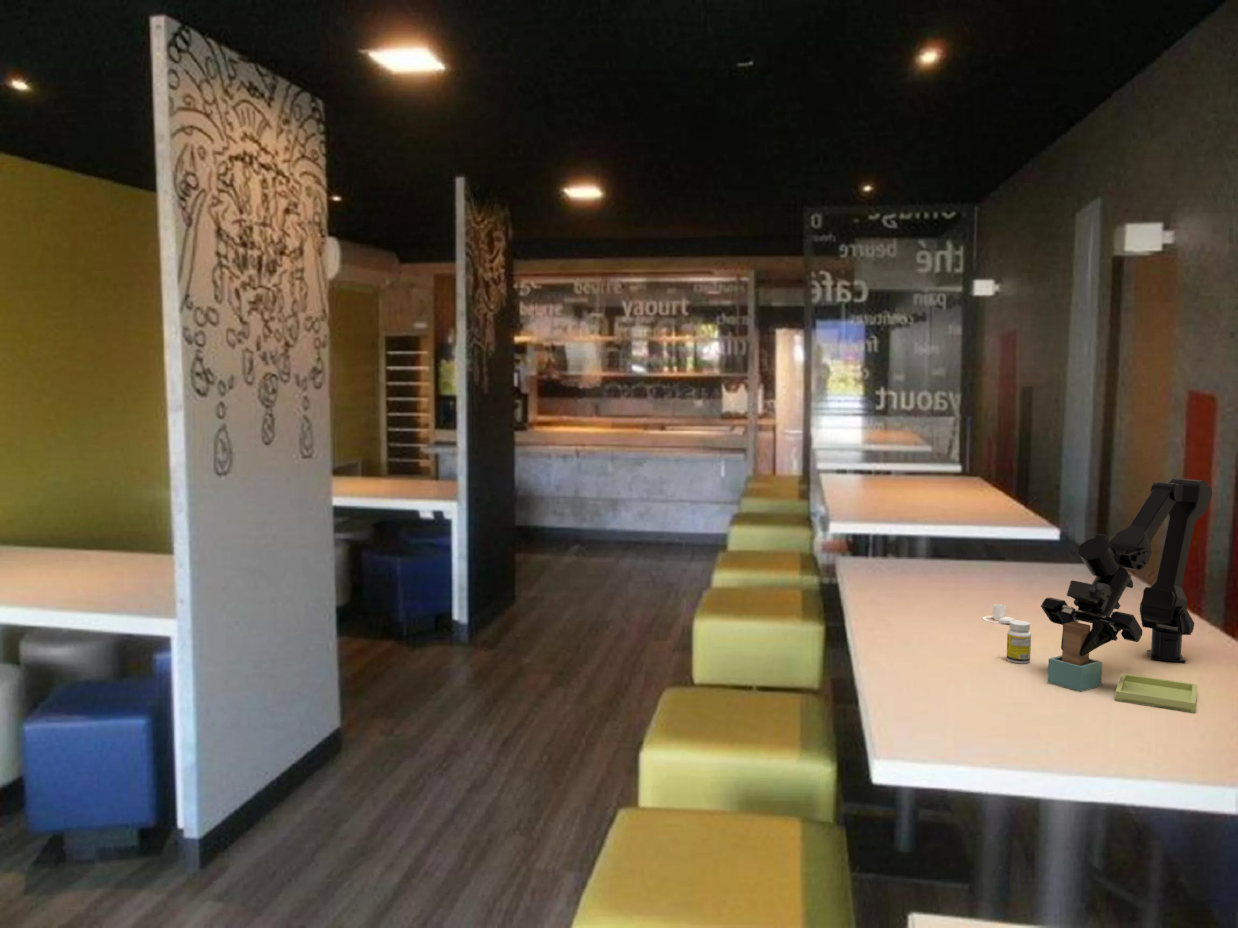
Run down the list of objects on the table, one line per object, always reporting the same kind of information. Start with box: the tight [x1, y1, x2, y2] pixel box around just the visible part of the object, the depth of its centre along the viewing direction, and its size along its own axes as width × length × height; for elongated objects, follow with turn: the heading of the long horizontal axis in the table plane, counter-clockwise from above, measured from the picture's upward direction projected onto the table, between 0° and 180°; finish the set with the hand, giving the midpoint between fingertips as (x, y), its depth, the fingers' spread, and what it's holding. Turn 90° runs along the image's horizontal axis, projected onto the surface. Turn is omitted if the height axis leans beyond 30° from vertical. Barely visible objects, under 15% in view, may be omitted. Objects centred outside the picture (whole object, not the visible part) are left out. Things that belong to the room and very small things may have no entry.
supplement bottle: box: [1006, 619, 1032, 665], centre depth 208 cm, size 5×5×8 cm
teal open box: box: [1047, 654, 1103, 692], centre depth 192 cm, size 7×7×5 cm
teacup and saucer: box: [982, 603, 1016, 625], centre depth 243 cm, size 9×8×4 cm
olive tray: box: [1114, 673, 1198, 714], centre depth 185 cm, size 13×13×2 cm
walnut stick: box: [1061, 622, 1092, 666], centre depth 192 cm, size 4×4×12 cm
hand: (1071, 652), depth 191 cm, fingers closed on walnut stick, 3 cm apart
